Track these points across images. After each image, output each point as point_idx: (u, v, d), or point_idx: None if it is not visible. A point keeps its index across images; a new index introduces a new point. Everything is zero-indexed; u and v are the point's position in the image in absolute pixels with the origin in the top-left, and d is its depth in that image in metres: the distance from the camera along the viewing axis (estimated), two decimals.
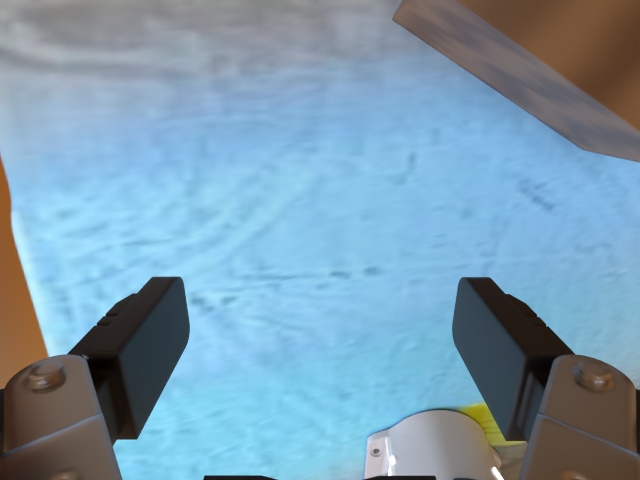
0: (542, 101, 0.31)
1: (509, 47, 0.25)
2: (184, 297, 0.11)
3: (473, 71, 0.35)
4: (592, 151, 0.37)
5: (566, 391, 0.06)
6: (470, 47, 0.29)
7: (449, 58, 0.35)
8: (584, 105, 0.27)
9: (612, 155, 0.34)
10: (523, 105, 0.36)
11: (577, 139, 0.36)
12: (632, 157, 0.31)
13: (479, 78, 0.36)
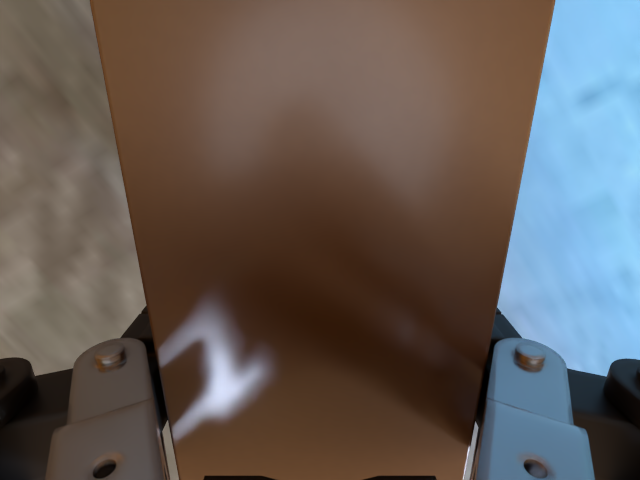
0: None
1: None
2: None
3: None
4: None
5: (508, 374, 0.07)
6: None
7: None
8: None
9: None
10: None
11: None
12: None
13: None
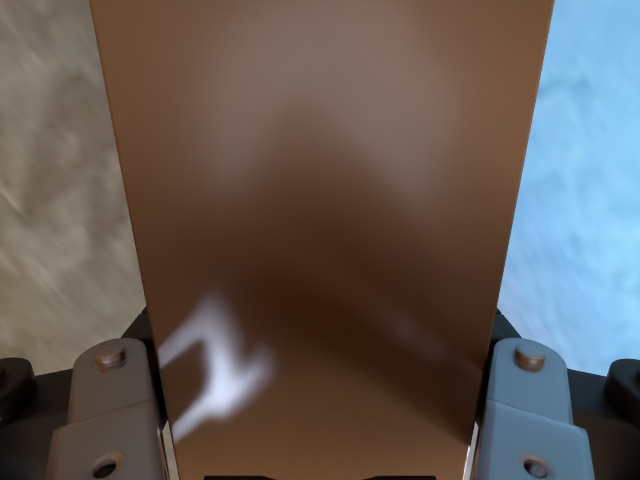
0: None
1: None
2: None
3: None
4: None
5: (508, 373, 0.07)
6: None
7: None
8: None
9: None
10: None
11: None
12: None
13: None
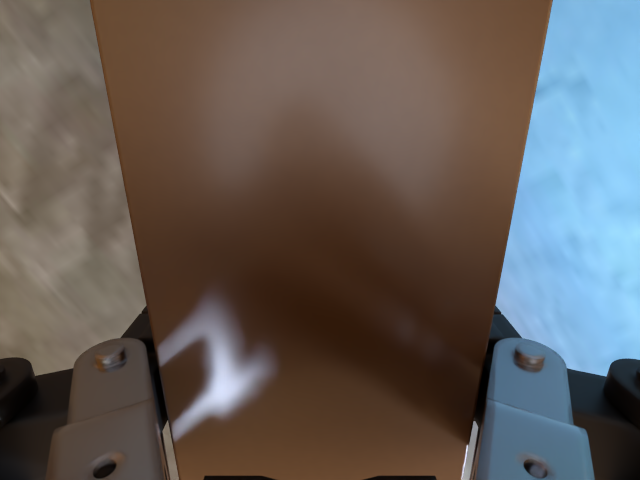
0: None
1: None
2: None
3: None
4: None
5: (508, 374, 0.07)
6: None
7: None
8: None
9: None
10: None
11: None
12: None
13: None
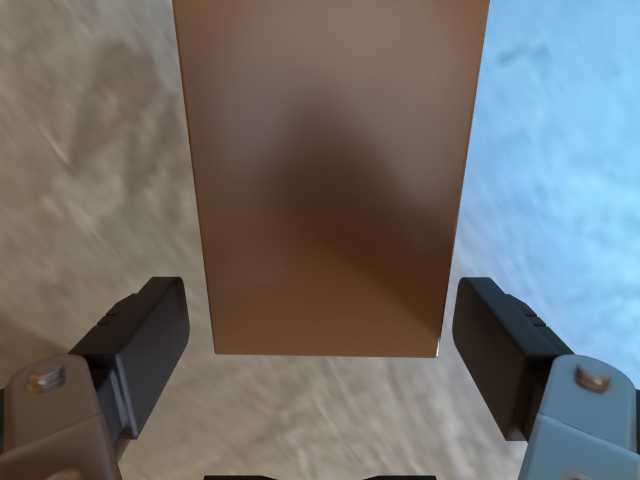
0: None
1: None
2: (184, 297, 0.11)
3: None
4: None
5: (566, 391, 0.06)
6: None
7: None
8: None
9: None
10: None
11: None
12: None
13: None
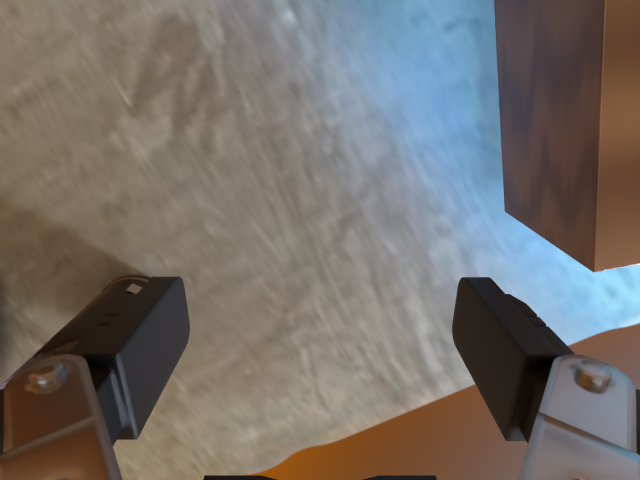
0: None
1: None
2: (184, 297, 0.11)
3: None
4: None
5: (566, 391, 0.06)
6: None
7: None
8: None
9: None
10: None
11: None
12: None
13: None
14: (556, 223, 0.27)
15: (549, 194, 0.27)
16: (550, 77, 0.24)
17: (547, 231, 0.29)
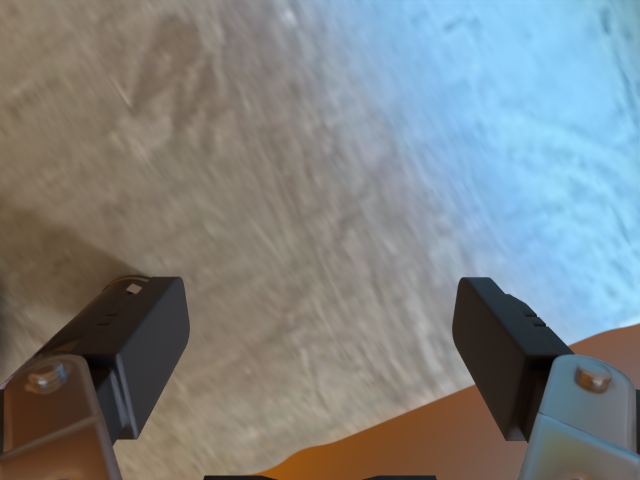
0: None
1: None
2: (184, 297, 0.11)
3: None
4: None
5: (566, 391, 0.06)
6: None
7: None
8: None
9: None
10: None
11: None
12: None
13: None
14: None
15: None
16: None
17: None
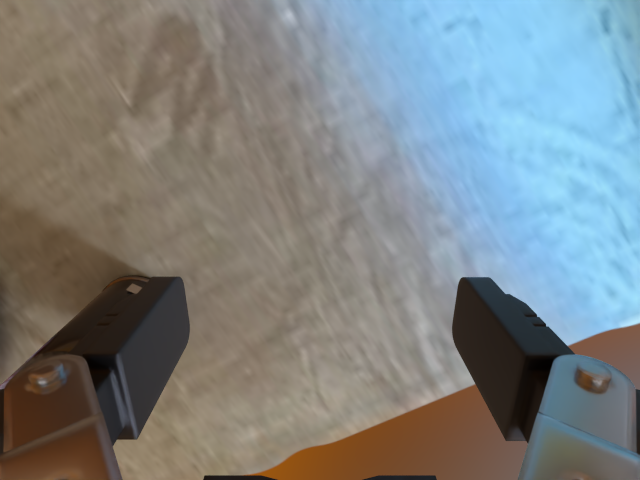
0: None
1: None
2: (184, 297, 0.11)
3: None
4: None
5: (566, 391, 0.06)
6: None
7: None
8: None
9: None
10: None
11: None
12: None
13: None
14: None
15: None
16: None
17: None
